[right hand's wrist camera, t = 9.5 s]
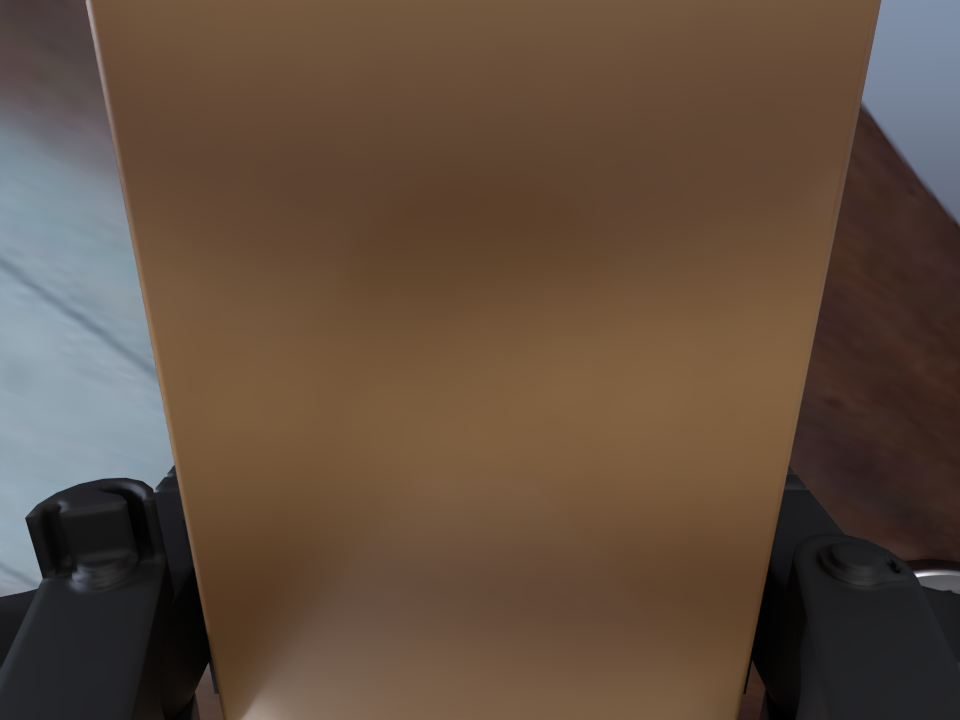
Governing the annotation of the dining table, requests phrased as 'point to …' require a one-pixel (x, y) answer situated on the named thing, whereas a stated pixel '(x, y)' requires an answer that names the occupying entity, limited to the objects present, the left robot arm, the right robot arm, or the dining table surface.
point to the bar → (482, 334)
